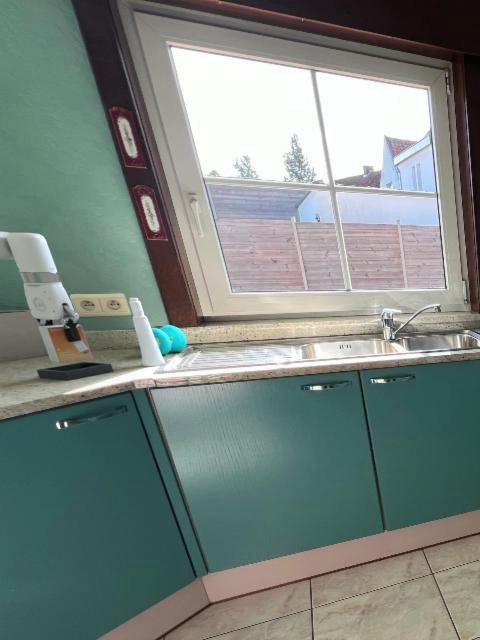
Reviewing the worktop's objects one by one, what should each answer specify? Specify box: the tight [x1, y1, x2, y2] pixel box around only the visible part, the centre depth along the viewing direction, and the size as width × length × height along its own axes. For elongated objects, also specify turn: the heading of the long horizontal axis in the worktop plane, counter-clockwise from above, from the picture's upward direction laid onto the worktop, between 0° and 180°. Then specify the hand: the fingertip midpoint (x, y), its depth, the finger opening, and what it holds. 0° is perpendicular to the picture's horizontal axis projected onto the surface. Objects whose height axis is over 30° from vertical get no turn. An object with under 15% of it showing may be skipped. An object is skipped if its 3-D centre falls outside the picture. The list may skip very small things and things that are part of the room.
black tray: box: [36, 361, 114, 381], centre depth 153 cm, size 11×13×3 cm
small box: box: [37, 324, 94, 364], centre depth 149 cm, size 8×6×10 cm
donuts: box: [151, 324, 188, 356], centre depth 184 cm, size 10×10×10 cm
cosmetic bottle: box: [128, 297, 167, 367], centre depth 164 cm, size 6×6×22 cm
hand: (64, 340), depth 149 cm, fingers closed on small box, 6 cm apart
